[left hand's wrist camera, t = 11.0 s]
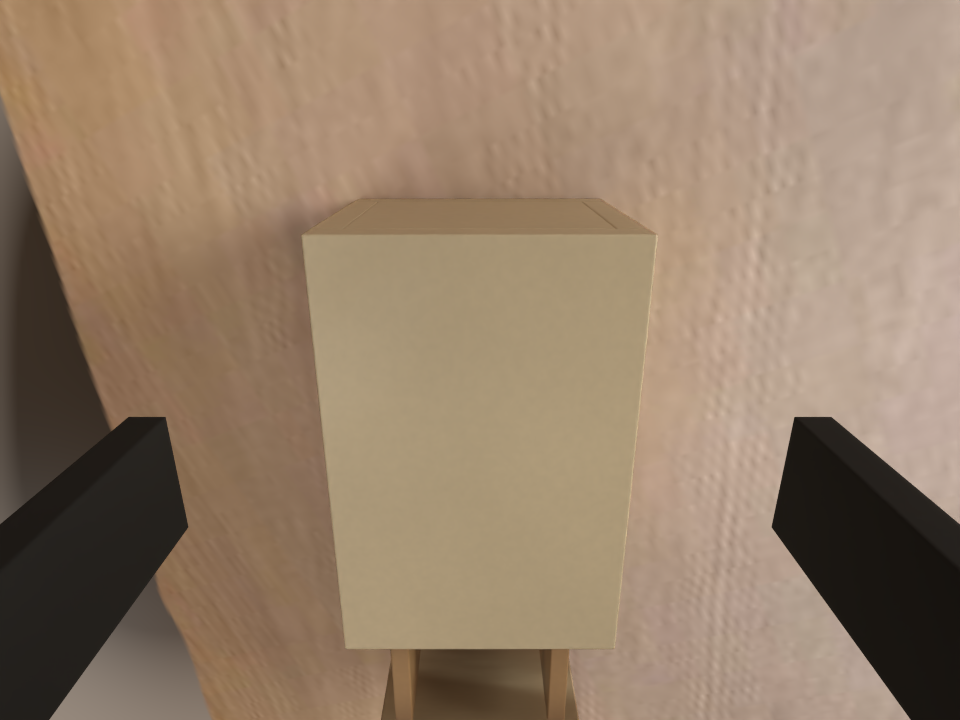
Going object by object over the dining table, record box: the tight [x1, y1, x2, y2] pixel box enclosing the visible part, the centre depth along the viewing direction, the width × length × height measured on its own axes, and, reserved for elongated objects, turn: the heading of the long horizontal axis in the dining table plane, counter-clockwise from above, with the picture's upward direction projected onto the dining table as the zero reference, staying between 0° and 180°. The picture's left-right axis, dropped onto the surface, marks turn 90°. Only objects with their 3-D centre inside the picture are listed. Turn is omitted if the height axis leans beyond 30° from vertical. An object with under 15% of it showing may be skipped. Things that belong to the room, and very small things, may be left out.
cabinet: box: [301, 199, 658, 649], centre depth 26 cm, size 16×11×9 cm, turn 0°
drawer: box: [381, 649, 579, 720], centre depth 30 cm, size 21×10×7 cm, turn 0°
